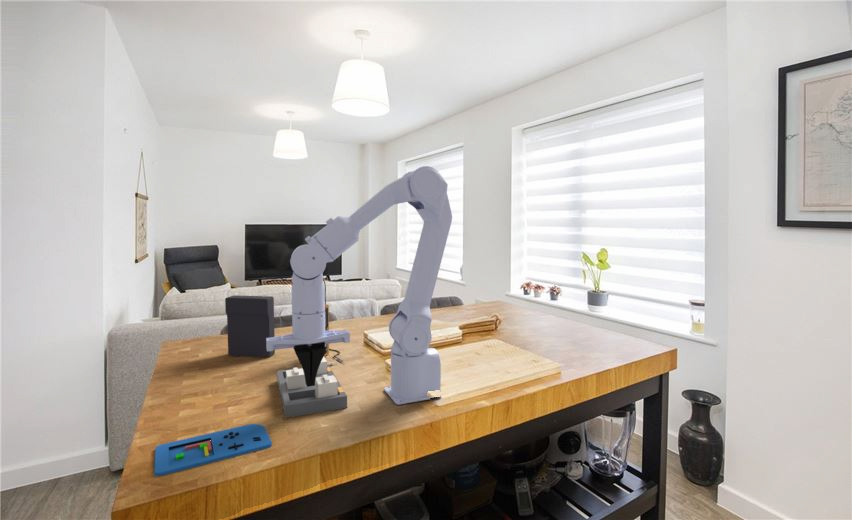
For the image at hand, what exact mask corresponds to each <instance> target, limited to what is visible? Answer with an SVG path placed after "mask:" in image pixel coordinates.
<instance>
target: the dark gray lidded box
mask: <svg viewBox="0 0 852 520" xmlns="http://www.w3.org/2000/svg"><path fill="white" fill-rule="evenodd" d="M274 301H275V299H274V296H269V295H266V296H265V295H263V296H262V295H231V296H227V297H225V299H224V304H225V305H224V306H225V314H226V324H227V351H228V352H227V354H228V356H229V357H246V358H247V357H248V358H266V357H269V358H270V357H272V356H274V355H275V354H276V350H273V351H268V352H267V349H266V338H271V337H276V336H275V335H276V334H275V302H274Z"/></svg>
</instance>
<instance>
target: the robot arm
mask: <svg viewBox="0 0 852 520" xmlns="http://www.w3.org/2000/svg"><path fill="white" fill-rule="evenodd" d="M448 185H449V184H448V183H447V182H446V180H445V178H444V176H442V174H441V173H440V172H439V170H437V169H436V168H434V167H433V166H429V165H423V166H420V167H418V168H416V169H415V170H413V171H408V172H407V173H405V174H404V175H402V176H401V177H400V178H397V179H395V180H394V181H392V182H390V183H388V184H387V185H385V186H384V187H383V188H381V189H380V190H379V191H378V192H376V194H374V195H373V196H372V197H371V198H369V200H367V201H366V202H365V203H363V204H362V205H361V206H360V207H358V208H357V209H356V210H355V211H354V212H353V213H352V214H350V215H349V216H348V217H347V216H341V215H339V216H336V217H335V218H332V217H330V218H328V219H327V220H326V221H325V224H326V225H325V226H324V227H322V228H321V229H320V230H319V231H318V232H316V233H315V234H314V235H313V236H310V235H309V236H306V237H305V239H304V240H305V241H306V243H307V244H301V245H299V246H297V247H296V248H294V250H293V252H292V254H291V255H290V256H291V257H290V259H289V262H290V267H291V270H292V271H293V272H292V275H291V283H292V285H291V287H290V288H291V289H290V290H291V320H292V321H291V323H292V324H291V325H292V326H291V327H292V330H291V331H292V333H290V334H288V333H287V334H284V335H278V336H275V337H271V338H266V349H267V352H268V351H273V350H275V351H276V350H283V349H284V350H285V349H291V348H293V351H294V353H295V355H296V357H297V359H298V362H299V363H300V365H301V368H303V372H304V376H305V382H306V385H307V387H309V386H315V380H316V375H317V371H318V368H319V365H320V363H321V361H322V359H323V357H324V355H325V352H326V347H325V344H329V345H330V344H337V343H345V344H348V343H349V344H350V342H351V333H350V331H349V329H346V330H345V329H344V330H329V331H325V284H324V281H323V280H324V275H323V274H324V271H326V268H327V263H332V262H334V261H335V260H336V259H338V258H339V257H340V256H342V254H344V253H345V252H346V251H347V250H349V249H350V248H352V246H354V245H355V244H356V243H357V242H358V241H359V238H360V232H361V230H362V229H363V228H365V227H366V226H367V225H369V224H370V223H371V222H373V221H375V219H376V218H378V217H380V216H381V215H382V214H383V213H385V212H386V211H388V210H389V209H390V208H392V207H393V206H394V205H398V204H403V203H408V204H409V205H410V206H412V207H413V208H414V209H415V211H416V212H417V213H418V215H419V216H420V217H421V219H422V221H423V225H422V229H421V233H420V237H419V240H418V245H417V249H416V252H415V255H414V260H413V263H412V268H411V272H410V275H409V280H408V283H407V288H406V291H405V294H404V298H403V300H402V301H401V303H400V304H399V306H398V308H397V311H396V313H395V315H394V316H393V317H392V319H391V320H390V322H389V323H388V324H389V325H388V333H389V335H390V337H391V338H392V339H393V340H394V341H393V343H392V345H391V347H390V385H389V386H385V387H384V388H383V390H384V391H385V393H386V394H387V395H388V397H389V398H390V399H391V400H392V401H393V403H394V404H396V405H406V404H411V403H416V402H421V401H427V400H431V399H430V397H429V396H427V392H428V391H435V390H440V391H441V385H442V384H441V377H442V373H441V370H442V369H441V368H442V364H441V358H440V354H439V351H437V349H436V348H435V347H430V345H431V343H432V331H431V325H432V321H433V320H432V319H433V318H432V317H433V316H432V312H431V303H432V299H433V295H434V291H435V286H436V283H437V279H438V275H439V272H440V268H441V263H442V260H443V256H444V252H445V249H446V244H447V241H448V237H449V233H450V229H451V225H452V221H453V214H452V209H451V204H450V200H449V196H448ZM308 346H309V347H308Z"/></svg>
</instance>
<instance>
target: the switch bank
mask: <svg viewBox="0 0 852 520" xmlns="http://www.w3.org/2000/svg"><path fill="white" fill-rule="evenodd" d="M297 368H298V369H303V368H302V367H297ZM287 370H293V368H291V369H290V368H289V369H284V370H283V369H282V370H277V371H276V381H278V382H277V385H278V386H279V387H278V391H279V390H280V391H279V396H280V395H281V396H280V400H281V399H282V401H281V405H282V404H283V405H282V409H284V410H283V415H284V414H285V415H284V418H285V419H288V418H293V417H292V416H294V417H299V415H300V416H306V415H311V414H316V413H323V412H330V411H335V410H336V411H337V410H341V409H346V408H347V409H348V395H347V394H346V392H345V390H344V389H343V387H342V385H341V383H340V382H339V380H338V378H337V377H336V375H335V374H334V372H333V370H332V368H331V367H330V366H329V365H327V373H325V374H318V375H316V378H317V377H323V375H326V374H327V376H332V375H334V377H335V378H336V380H337V382H338V395H336V396H329V397H323V398H316V397H315V386H309V387H304V388H297V389H290V390H287V387H286V371H287Z"/></svg>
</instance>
